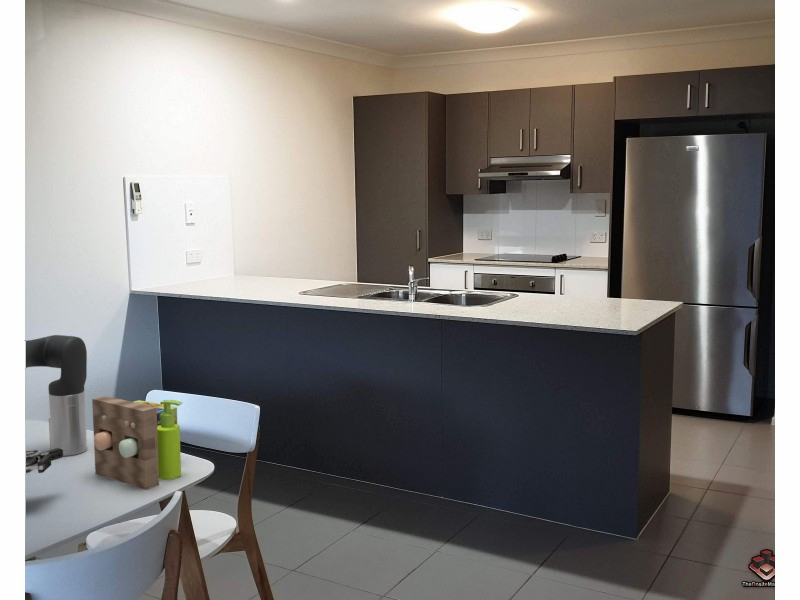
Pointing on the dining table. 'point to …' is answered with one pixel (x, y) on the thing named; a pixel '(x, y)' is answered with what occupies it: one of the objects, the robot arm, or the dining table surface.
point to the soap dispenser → (169, 443)
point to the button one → (103, 440)
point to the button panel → (125, 424)
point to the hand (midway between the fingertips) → (61, 452)
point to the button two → (128, 447)
